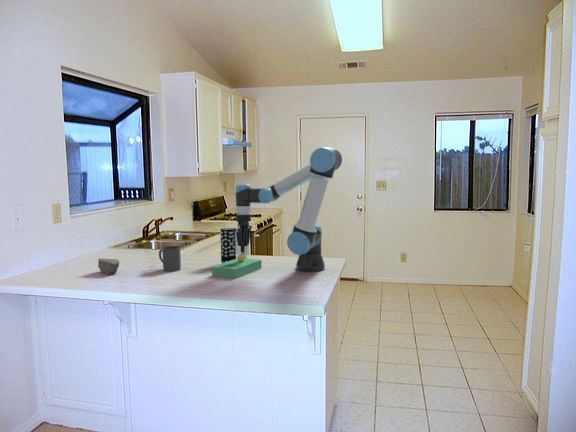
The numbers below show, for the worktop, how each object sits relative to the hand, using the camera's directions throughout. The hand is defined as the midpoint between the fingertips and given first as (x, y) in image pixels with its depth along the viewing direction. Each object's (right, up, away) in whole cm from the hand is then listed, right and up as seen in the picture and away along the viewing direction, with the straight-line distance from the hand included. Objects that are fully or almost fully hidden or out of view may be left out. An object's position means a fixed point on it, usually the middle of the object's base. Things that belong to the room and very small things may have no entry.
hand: (243, 258), depth 242 cm
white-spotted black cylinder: (-10, -5, +14) cm, 18 cm away
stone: (-69, -8, -6) cm, 70 cm away
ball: (-1, 0, -3) cm, 3 cm away
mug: (-40, -6, +2) cm, 41 cm away
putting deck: (-3, -7, -5) cm, 9 cm away
